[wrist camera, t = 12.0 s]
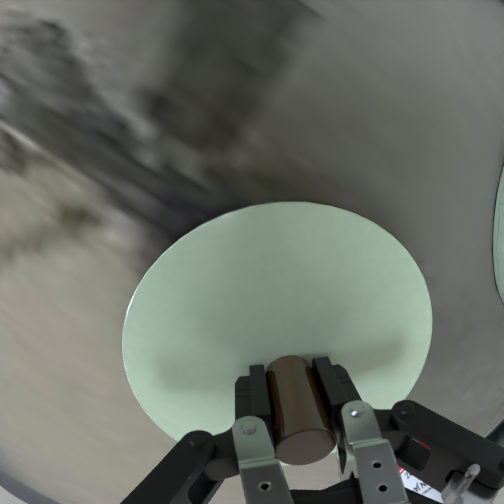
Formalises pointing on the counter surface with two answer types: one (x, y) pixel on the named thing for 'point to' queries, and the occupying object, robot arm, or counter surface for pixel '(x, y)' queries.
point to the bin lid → (276, 321)
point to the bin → (499, 238)
